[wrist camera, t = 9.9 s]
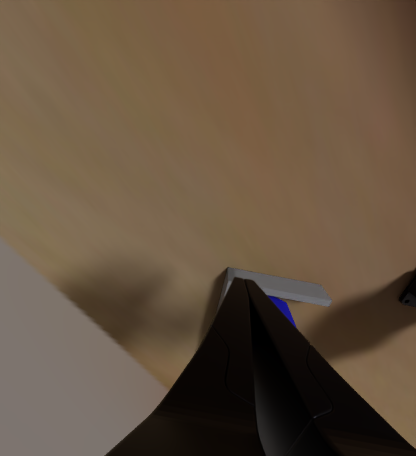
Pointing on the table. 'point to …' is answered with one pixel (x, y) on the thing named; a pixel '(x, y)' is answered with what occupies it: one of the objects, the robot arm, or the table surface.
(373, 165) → the table surface
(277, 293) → the bracket
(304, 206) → the table surface
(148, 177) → the table surface
